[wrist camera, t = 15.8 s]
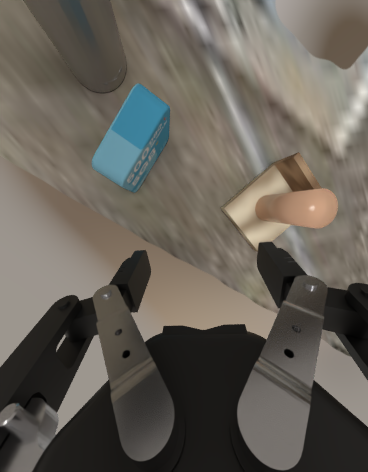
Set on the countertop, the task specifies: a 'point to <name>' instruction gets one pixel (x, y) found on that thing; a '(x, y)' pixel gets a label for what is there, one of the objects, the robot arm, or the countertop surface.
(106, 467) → the robot arm
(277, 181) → the wooden l-shaped stand
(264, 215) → the peach dome-topped cylinder
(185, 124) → the countertop surface
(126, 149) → the data package
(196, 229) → the countertop surface
